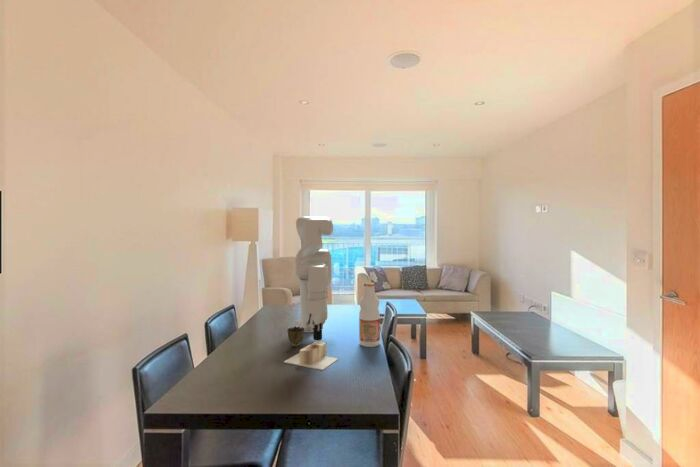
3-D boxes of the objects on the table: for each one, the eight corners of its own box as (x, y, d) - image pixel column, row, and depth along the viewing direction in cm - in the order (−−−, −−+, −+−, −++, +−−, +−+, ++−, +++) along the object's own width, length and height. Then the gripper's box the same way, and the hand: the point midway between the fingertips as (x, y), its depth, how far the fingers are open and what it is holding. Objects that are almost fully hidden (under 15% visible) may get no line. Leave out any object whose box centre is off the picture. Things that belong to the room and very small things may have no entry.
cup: (284, 347, 153) (284, 329, 153) (294, 342, 159) (294, 325, 159) (297, 350, 149) (297, 331, 149) (307, 345, 156) (307, 327, 156)
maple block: (316, 353, 144) (299, 362, 134) (315, 341, 144) (299, 349, 134) (326, 354, 142) (310, 364, 132) (326, 342, 142) (310, 351, 132)
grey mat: (283, 362, 135) (283, 361, 135) (301, 352, 146) (301, 351, 146) (322, 370, 127) (322, 369, 127) (338, 359, 138) (338, 358, 138)
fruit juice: (355, 343, 158) (355, 282, 158) (371, 339, 163) (371, 281, 163) (367, 349, 150) (367, 285, 150) (384, 345, 155) (383, 283, 155)
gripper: (319, 291, 149) (319, 333, 149) (299, 297, 136) (299, 343, 136) (334, 293, 146) (334, 335, 146) (315, 299, 133) (315, 346, 133)
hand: (317, 339), depth 141 cm, fingers closed
